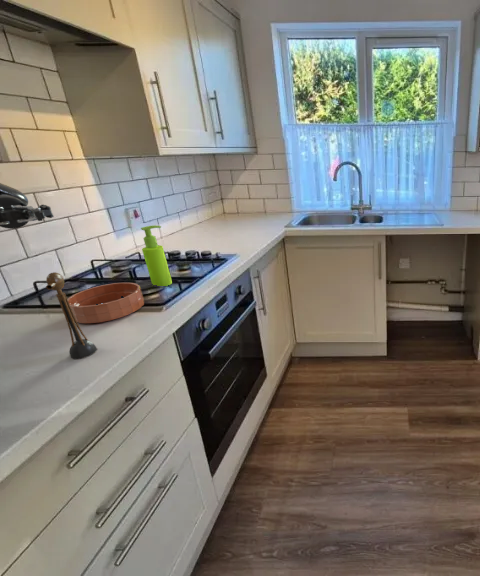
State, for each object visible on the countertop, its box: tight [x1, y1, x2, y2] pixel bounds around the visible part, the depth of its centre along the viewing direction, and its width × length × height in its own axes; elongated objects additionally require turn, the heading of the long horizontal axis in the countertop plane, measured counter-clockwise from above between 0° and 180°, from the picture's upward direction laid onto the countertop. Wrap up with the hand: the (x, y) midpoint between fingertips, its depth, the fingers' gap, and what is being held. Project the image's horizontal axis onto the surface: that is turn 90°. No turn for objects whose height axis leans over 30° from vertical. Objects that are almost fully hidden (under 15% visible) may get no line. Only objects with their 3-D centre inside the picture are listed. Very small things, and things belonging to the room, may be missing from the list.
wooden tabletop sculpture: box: [45, 271, 98, 360], centre depth 80 cm, size 6×5×20 cm
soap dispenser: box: [140, 224, 173, 287], centre depth 120 cm, size 6×7×20 cm
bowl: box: [66, 282, 145, 324], centre depth 104 cm, size 17×17×6 cm
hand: (13, 219), depth 80 cm, fingers open, 8 cm apart
